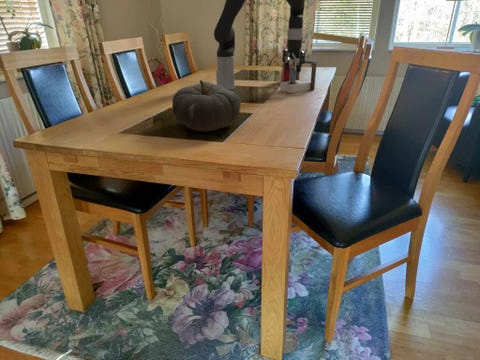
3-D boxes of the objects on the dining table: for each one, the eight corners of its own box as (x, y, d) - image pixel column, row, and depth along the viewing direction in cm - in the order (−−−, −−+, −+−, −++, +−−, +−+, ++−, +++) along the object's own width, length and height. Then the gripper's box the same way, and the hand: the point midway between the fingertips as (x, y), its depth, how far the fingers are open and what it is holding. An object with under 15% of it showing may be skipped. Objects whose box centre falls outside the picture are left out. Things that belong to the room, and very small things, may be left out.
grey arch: (309, 91, 180) (311, 61, 174) (291, 87, 191) (292, 59, 184) (314, 90, 182) (316, 60, 176) (296, 86, 193) (298, 58, 186)
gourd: (207, 106, 143) (207, 65, 132) (253, 126, 131) (257, 83, 120) (161, 126, 127) (156, 82, 117) (208, 151, 115) (208, 103, 104)
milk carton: (294, 81, 207) (296, 46, 199) (295, 84, 199) (297, 48, 190) (280, 81, 208) (281, 46, 199) (280, 84, 200) (281, 48, 191)
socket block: (293, 93, 177) (293, 85, 175) (280, 90, 184) (280, 82, 182) (310, 89, 183) (311, 82, 182) (297, 87, 191) (297, 80, 189)
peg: (296, 90, 182) (297, 67, 177) (291, 91, 180) (293, 68, 175) (292, 89, 184) (293, 67, 179) (287, 90, 183) (288, 67, 177)
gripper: (279, 37, 174) (278, 70, 181) (299, 39, 164) (297, 74, 171) (290, 37, 178) (288, 69, 185) (310, 38, 168) (307, 72, 175)
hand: (292, 71), depth 178 cm, fingers open, 8 cm apart
